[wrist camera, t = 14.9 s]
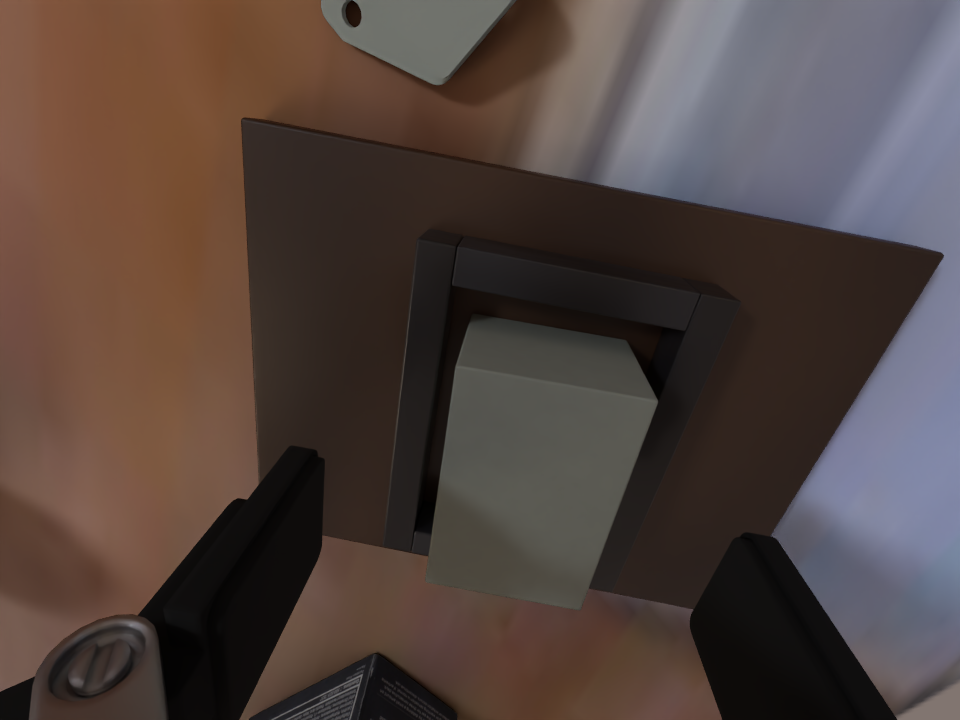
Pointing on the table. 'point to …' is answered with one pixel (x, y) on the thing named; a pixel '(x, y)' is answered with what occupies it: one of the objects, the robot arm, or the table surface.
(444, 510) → the gray rectangular block
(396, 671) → the small box
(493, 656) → the table surface
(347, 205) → the mounting board
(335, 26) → the metal bracket
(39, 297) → the table surface
